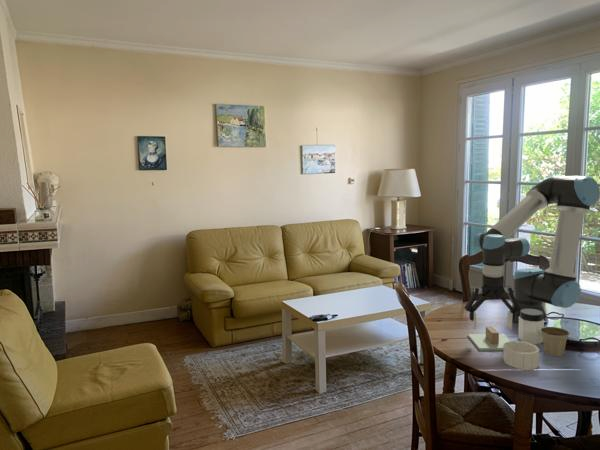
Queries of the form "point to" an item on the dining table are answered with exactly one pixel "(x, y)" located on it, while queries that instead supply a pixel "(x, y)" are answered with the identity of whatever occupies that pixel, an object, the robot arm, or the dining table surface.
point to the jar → (530, 326)
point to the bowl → (521, 355)
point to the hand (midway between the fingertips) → (491, 328)
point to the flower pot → (554, 340)
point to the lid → (489, 340)
